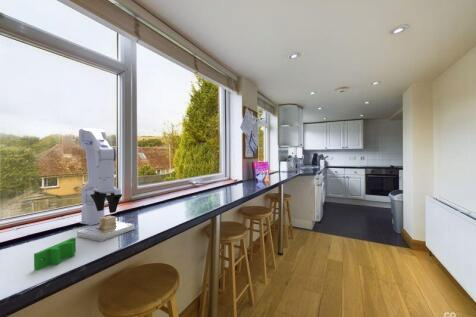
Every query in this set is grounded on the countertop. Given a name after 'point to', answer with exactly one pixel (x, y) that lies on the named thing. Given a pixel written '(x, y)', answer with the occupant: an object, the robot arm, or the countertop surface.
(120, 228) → the grey square plate
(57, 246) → the green boxy piece
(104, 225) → the maple wedge
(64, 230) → the countertop surface
